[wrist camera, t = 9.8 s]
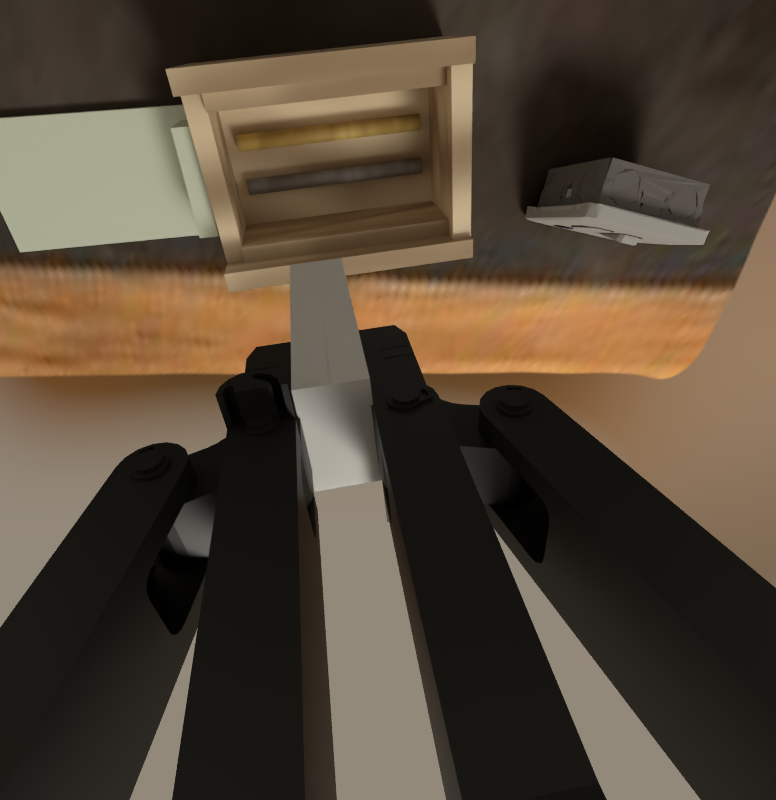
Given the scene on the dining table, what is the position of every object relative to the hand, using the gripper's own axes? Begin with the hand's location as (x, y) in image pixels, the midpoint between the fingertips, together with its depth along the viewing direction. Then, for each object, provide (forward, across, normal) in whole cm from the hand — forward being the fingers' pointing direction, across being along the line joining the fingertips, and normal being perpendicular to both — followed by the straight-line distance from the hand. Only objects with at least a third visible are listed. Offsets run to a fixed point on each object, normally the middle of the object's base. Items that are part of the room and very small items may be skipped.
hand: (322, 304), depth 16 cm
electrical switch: (+25, +21, -5) cm, 33 cm away
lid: (+25, -13, 0) cm, 28 cm away
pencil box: (+24, +2, 0) cm, 24 cm away
